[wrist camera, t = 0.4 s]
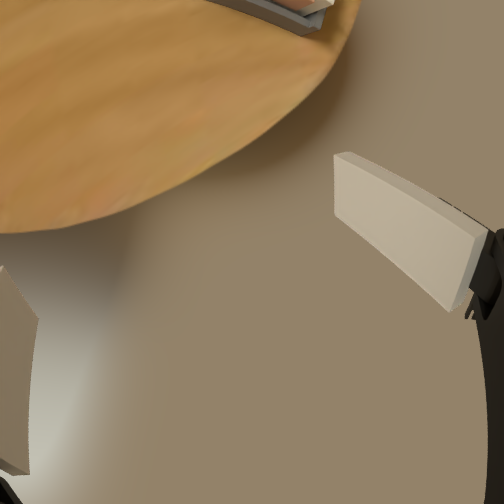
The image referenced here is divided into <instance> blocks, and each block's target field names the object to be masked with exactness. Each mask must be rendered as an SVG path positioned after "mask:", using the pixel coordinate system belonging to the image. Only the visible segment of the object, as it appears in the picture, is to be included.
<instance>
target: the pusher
mask: <svg viewBox="0 0 504 504" xmlns="http://www.w3.org/2000/svg"><path fill="white" fill-rule="evenodd" d="M265 1H267V2H270V3H272V4H275V5H277V6H279V7H281V8H284V9H286V10H288V11H290V12H292V13H295V14H297V15H299V16H301V17H303V16H306V15H308V14H310V13H313V12H315V11H318V10H320V9H323V8H326V7H328V6H331V5H333V4H334V1H335V0H265Z"/></svg>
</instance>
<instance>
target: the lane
mask: <svg viewBox="0 0 504 504" xmlns="http://www.w3.org/2000/svg"><path fill="white" fill-rule="evenodd" d="M207 1H210V2H214V3H217V4H220V5H223V6H226V7H229V8H232V9H235V10H238V11H241V12H244V13H246V14H249V15H252V16H254V17H257V18H260V19H262V20H265V21H267V22H270V23H272V24H274V25H277V26H279V27H281V28H284V29H286V30H288V31H290V32H293V33H295V34H297V35H299V36H303V35H306V34H309V33H312V32H315V31H318V30H321V26H322V23H323V19H324V16H325V12H326V9H327V7H326V8H323V9H320V10H318V11H315V12H313V13H310V14H308V15H306V16H303V17H301V16H299V15H297V14H295V13H292V12H290V11H288V10H286V9H284V8H281V7H279V6H277V5H275V4H272V3H270V2H267V1H265V0H207Z"/></svg>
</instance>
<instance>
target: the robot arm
mask: <svg viewBox="0 0 504 504" xmlns="http://www.w3.org/2000/svg"><path fill="white" fill-rule="evenodd" d="M334 193H335V194H334V195H335V216H336V217H338V218H339V219H340V220H342V221H343V222H344V223H345V224H347V225H348V226H349V227H350V228H352V229H353V230H354V231H355V232H357V233H358V234H359V235H360V236H362V237H363V238H364V239H365V240H366V241H368V242H369V243H370V244H371V245H373V246H374V247H375V248H376V249H377V250H379V251H380V252H381V253H382V254H383V255H385V256H386V257H387V258H388V259H389V260H391V261H392V262H393V263H394V264H395V265H396V266H398V267H399V268H400V269H401V270H402V271H404V272H405V273H406V274H407V275H408V276H409V277H410V278H411V279H413V280H414V281H415V282H416V283H417V284H418V285H419V286H421V287H422V288H423V289H424V290H425V291H426V292H427V293H428V294H429V295H430V296H432V297H433V298H434V299H435V300H436V301H437V302H438V303H439V304H440V305H441V306H442V307H443V308H445V309H446V310H447V311H448V312H451V311H452V310H453V309H455V308H456V307H457V306H459V305H460V304H461V303H462V302H463V301H464V298H465V296H466V293H467V291H468V288H470V289H471V290H472V291H473V292H474V294H473V297H472V299H471V301H470V304H469V306H468V308H467V311H466V313H465V319H468V317H469V315H470V313H471V311H472V310H474V314H473V316H472V319H473V320H476V324H477V330H478V335H479V341H480V348H481V354H482V362H483V368H484V378H485V388H486V402H487V421H488V460H487V480H486V492H485V500H484V504H504V229H499V230H497V232H496V233H494V232H493V231H491V230H490V229H488V228H487V227H485V226H484V225H482V224H481V223H479V222H478V221H476V220H475V219H473V218H472V217H470V216H468V215H467V214H465V213H464V212H463V213H462V212H461V210H459V209H457V208H456V207H452V205H451V204H449V203H448V202H446V201H444V200H442V199H441V198H438V197H436V196H434V195H432V194H430V193H429V192H427V191H425V190H424V189H422V188H420V187H418V186H416V185H415V184H413V183H411V182H409V181H407V180H406V179H404V178H402V177H400V176H398V175H396V174H394V173H392V172H390V171H388V170H386V169H384V168H383V167H381V166H379V165H377V164H375V163H372V162H371V161H368V160H367V159H364V158H362V157H360V156H358V155H356V154H354V153H352V152H349V151H348V152H343V153H339V154H335V155H334ZM37 325H38V317H37V316H36V314H35V313H34V312H33V310H32V309H31V308H30V306H29V305H28V303H27V302H26V300H25V299H24V297H23V296H22V294H21V293H20V291H19V289H18V288H17V286H16V285H15V283H14V282H13V280H12V278H11V277H10V275H9V274H8V272H7V270H6V269H5V267H4V266H1V267H0V469H1V470H3V471H5V472H7V473H9V474H11V475H12V476H16V475H30V471H29V452H28V451H29V449H28V417H29V394H30V381H31V369H32V361H33V352H34V344H35V338H36V331H37ZM0 504H23V503H22V502H21V501H20V499H19V498H18V497H17V495H16V494H15V493H14V491H13V490H12V488H11V487H10V485H9V484H8V483H7V481H6V480H5V479H4V478H2V477H0Z"/></svg>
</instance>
